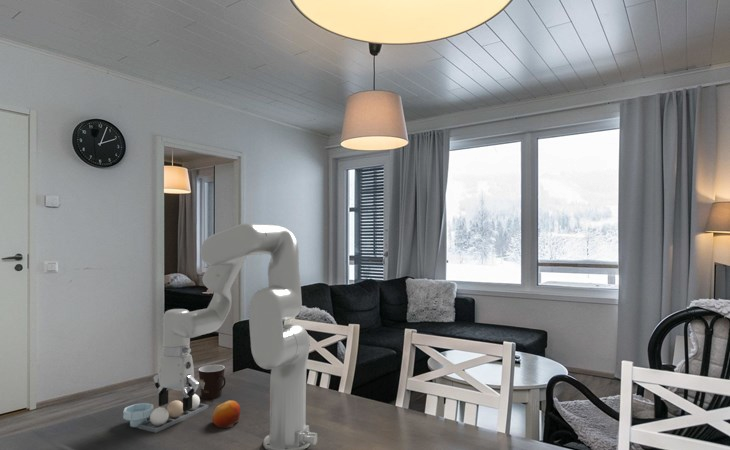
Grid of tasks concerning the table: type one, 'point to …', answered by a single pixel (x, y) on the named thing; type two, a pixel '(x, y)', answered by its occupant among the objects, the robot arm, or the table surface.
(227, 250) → the robot arm
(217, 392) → the coffee mug
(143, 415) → the egg cup
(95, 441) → the table surface
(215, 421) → the fruit
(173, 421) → the egg tray
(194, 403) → the white egg
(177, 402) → the egg brown
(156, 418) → the white egg
